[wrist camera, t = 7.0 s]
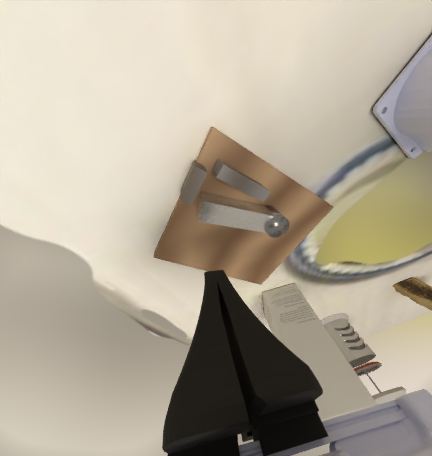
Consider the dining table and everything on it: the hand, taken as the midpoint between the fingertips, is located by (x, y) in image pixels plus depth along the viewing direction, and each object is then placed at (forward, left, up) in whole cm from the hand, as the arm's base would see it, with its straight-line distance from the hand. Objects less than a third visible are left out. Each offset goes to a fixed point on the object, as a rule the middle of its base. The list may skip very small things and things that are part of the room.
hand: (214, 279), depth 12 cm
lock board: (-5, -1, -8) cm, 10 cm away
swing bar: (-3, -4, -7) cm, 9 cm away
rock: (-53, -3, -9) cm, 54 cm away
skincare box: (-21, +10, -9) cm, 25 cm away
